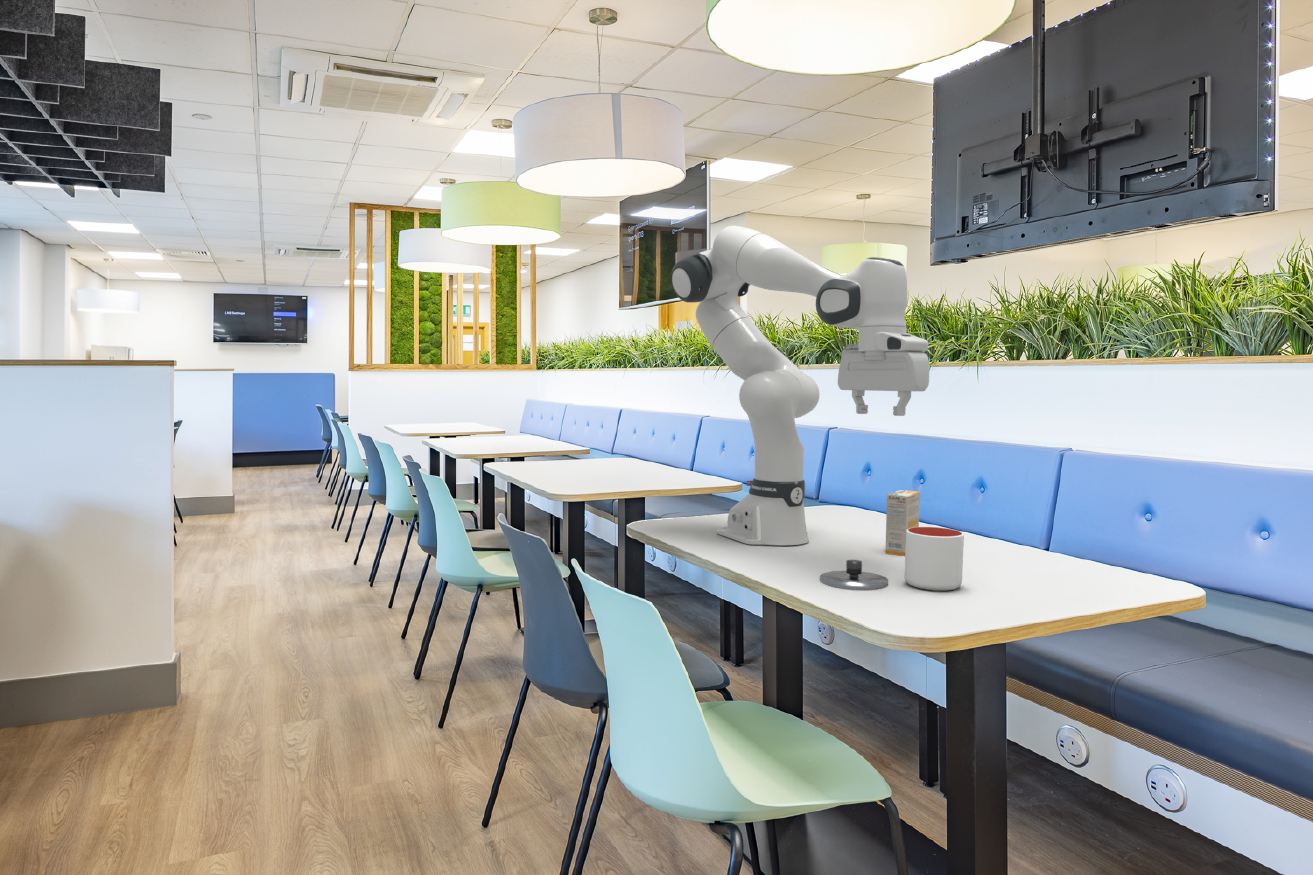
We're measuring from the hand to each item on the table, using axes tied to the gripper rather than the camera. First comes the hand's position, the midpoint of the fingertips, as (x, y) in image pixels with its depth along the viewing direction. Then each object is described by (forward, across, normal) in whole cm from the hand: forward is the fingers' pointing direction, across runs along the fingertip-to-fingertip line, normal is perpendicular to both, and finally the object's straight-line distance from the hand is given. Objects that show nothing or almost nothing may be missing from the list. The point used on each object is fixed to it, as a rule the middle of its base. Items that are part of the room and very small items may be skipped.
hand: (880, 414), depth 162 cm
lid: (+31, +4, -10) cm, 33 cm away
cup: (+31, +13, +1) cm, 34 cm away
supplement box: (+31, -10, +19) cm, 38 cm away
